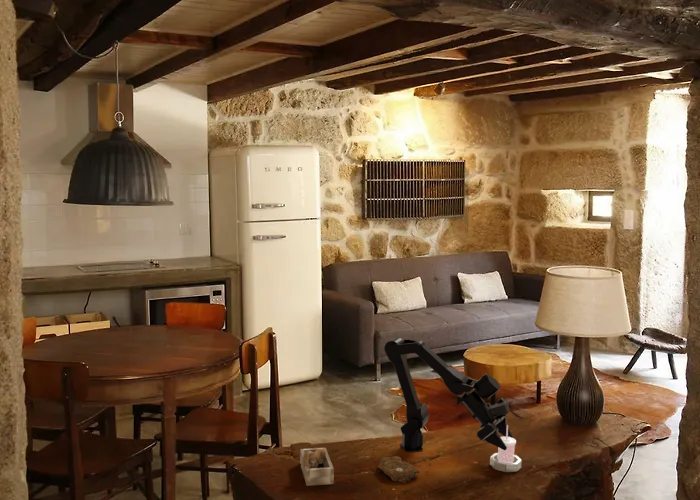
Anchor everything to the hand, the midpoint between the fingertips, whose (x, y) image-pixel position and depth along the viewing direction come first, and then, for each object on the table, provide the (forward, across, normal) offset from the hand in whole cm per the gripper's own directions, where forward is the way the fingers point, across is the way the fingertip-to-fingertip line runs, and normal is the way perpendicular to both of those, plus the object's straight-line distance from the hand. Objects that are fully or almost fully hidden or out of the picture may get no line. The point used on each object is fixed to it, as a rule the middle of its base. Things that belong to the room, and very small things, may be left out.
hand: (509, 444), depth 234 cm
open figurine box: (-33, -35, +43) cm, 64 cm away
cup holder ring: (+5, 0, +6) cm, 8 cm away
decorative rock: (-16, -22, +28) cm, 39 cm away
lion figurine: (-33, -35, +43) cm, 64 cm away
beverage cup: (+5, 0, +6) cm, 8 cm away
